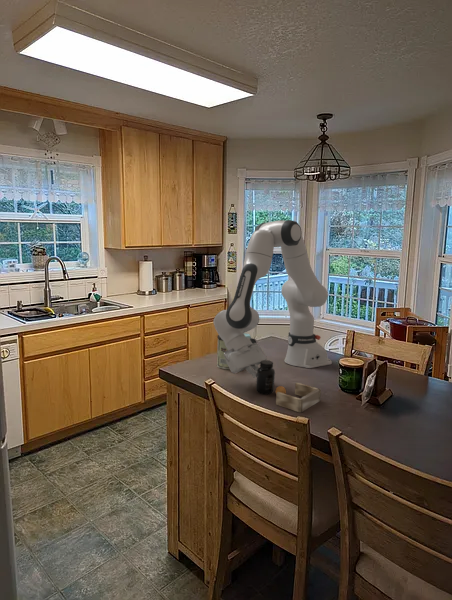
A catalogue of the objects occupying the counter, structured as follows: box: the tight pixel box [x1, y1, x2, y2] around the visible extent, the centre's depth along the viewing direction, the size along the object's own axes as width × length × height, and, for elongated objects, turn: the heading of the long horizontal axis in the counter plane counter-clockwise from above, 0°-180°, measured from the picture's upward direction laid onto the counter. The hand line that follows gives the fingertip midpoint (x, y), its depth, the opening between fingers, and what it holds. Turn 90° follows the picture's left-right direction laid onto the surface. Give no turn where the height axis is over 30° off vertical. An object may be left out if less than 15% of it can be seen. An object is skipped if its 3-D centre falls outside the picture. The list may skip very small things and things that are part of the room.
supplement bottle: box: [255, 359, 276, 395], centre depth 166 cm, size 7×7×12 cm
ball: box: [274, 385, 287, 394], centre depth 163 cm, size 4×4×4 cm
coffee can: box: [216, 334, 230, 370], centre depth 195 cm, size 10×10×14 cm
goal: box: [275, 382, 322, 413], centre depth 157 cm, size 10×14×4 cm
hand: (257, 376), depth 168 cm, fingers closed
